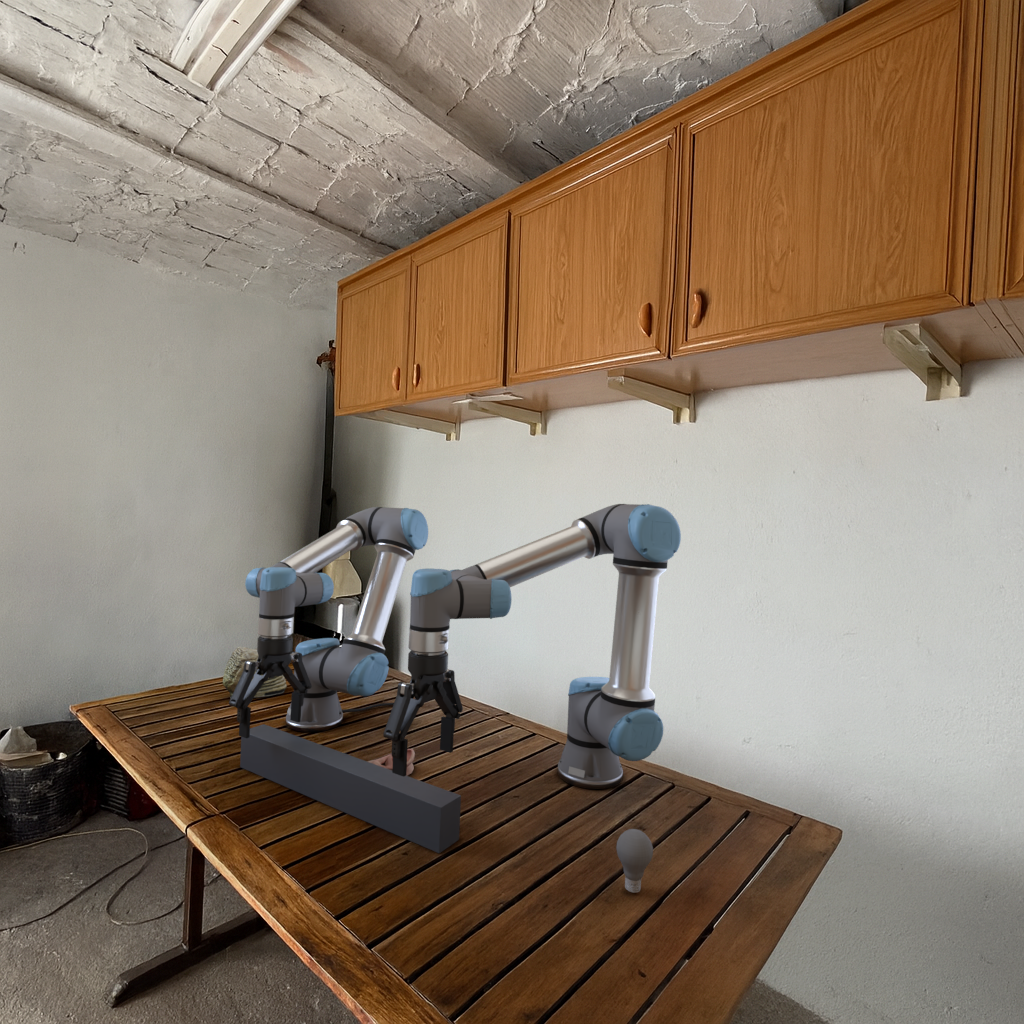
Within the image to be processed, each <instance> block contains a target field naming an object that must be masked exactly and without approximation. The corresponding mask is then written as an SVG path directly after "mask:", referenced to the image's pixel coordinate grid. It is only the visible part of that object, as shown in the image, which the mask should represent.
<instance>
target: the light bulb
mask: <svg viewBox="0 0 1024 1024" xmlns="http://www.w3.org/2000/svg"><path fill="white" fill-rule="evenodd" d="M615 849H616V854H617V857H618V859H619V861H620V863H621V865H622V867H623V873H624V874H623V875H624V876H625V878H624V888H625V890H627V891H628V892H630V893H634V894H635V893H639V892H640V891H641V889H642V887H641V886H642V879H643V877H644V875H645V871H646V868H647V867H648V866H649V864H650V863H651V861H652V859H653V855H654V847H653V843H652V841H651V838H649V836H648V835H647V834H646V833H645V832H643V831H642V830H641V829H636V828H629V829H627V830H625V831H623V832H622V833H621V834H620V835H619V837H618V839H617V841H616V847H615Z"/></svg>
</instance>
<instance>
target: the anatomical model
mask: <svg viewBox="0 0 1024 1024" xmlns="http://www.w3.org/2000/svg"><path fill="white" fill-rule="evenodd" d="M391 754H392V753H390V754H387V755H384V756H381V757H378V758H376V759H371V760H368V761H367V762H370V763H372V764H375V765H378V766H381V767H384V768H386V769H389V770H392V769H393V757H392V755H391ZM415 755H416V753H415V750H414V749H413V748H407V770H406V776H409V775H410V774H412V773H413V771H414V763H413V762H414V760H415Z"/></svg>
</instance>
